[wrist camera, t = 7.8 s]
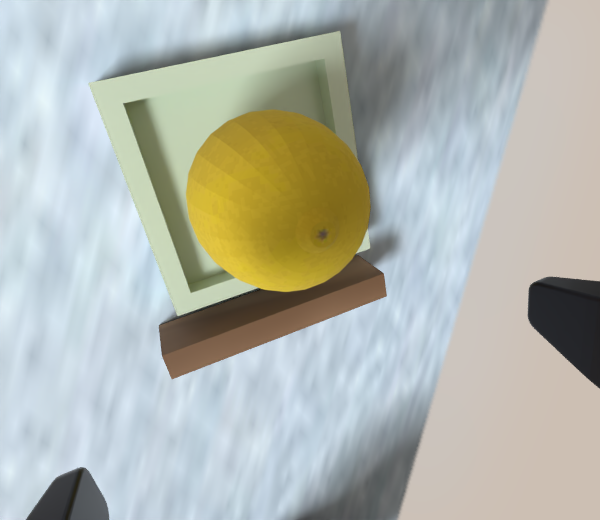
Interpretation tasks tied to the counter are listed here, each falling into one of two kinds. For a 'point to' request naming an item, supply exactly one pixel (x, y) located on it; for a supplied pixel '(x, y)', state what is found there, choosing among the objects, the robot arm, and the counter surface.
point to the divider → (264, 317)
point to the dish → (197, 128)
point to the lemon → (278, 200)
